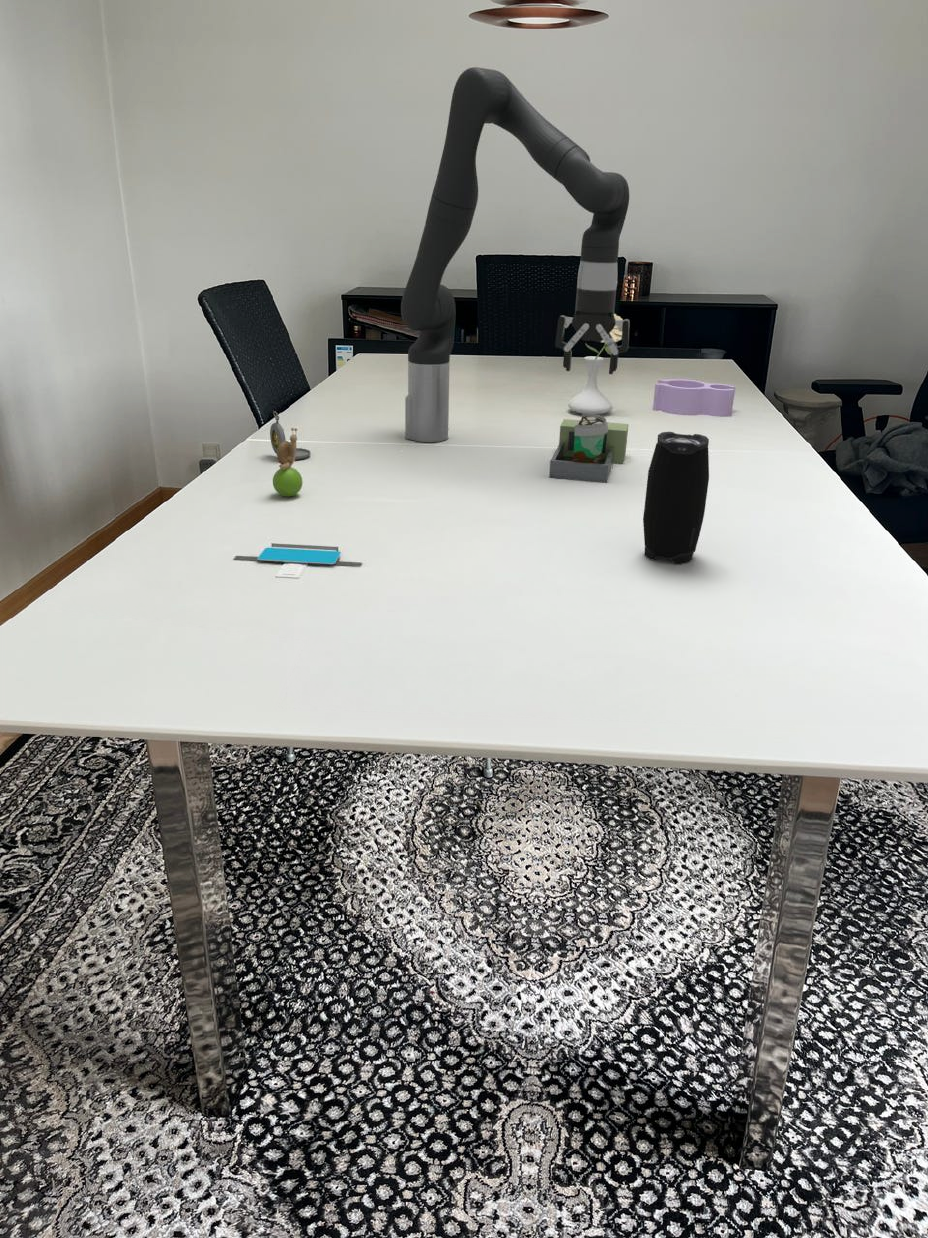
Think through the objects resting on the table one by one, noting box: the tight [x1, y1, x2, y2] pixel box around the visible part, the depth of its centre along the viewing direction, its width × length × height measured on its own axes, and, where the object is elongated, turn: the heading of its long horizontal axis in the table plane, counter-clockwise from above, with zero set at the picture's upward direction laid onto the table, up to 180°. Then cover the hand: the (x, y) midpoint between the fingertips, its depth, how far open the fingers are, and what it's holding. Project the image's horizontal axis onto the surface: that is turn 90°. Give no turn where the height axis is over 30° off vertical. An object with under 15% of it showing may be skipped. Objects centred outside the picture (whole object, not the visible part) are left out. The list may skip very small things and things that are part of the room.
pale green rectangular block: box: [558, 418, 629, 464], centre depth 208 cm, size 14×7×7 cm, turn 77°
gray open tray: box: [549, 442, 615, 484], centre depth 199 cm, size 12×15×4 cm
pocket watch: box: [269, 410, 312, 460], centre depth 201 cm, size 8×8×10 cm
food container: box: [573, 413, 608, 464], centre depth 198 cm, size 12×6×10 cm, turn 167°
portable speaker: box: [642, 431, 710, 565], centre depth 152 cm, size 9×9×20 cm
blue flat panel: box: [233, 543, 363, 580], centre depth 149 cm, size 20×12×2 cm, turn 85°
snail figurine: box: [272, 427, 303, 498], centre depth 177 cm, size 5×6×12 cm
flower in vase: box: [567, 313, 623, 415], centre depth 242 cm, size 13×11×25 cm
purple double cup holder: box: [652, 378, 736, 418], centre depth 252 cm, size 20×12×7 cm, turn 73°
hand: (589, 371), depth 192 cm, fingers open, 8 cm apart
